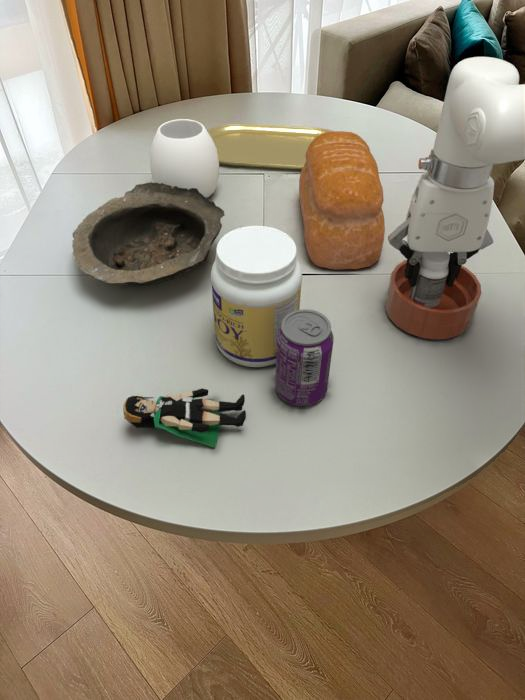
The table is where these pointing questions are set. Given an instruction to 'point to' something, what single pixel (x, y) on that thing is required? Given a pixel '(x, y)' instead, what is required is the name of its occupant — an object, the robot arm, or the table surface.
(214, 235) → the stone bowl
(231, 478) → the table surface
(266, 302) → the supplement tub
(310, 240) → the bread
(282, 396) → the beverage can
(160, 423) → the figurine
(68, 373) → the table surface
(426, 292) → the pill bottle
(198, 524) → the table surface
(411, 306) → the terracotta bowl
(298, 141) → the serving platter
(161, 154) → the white vase
